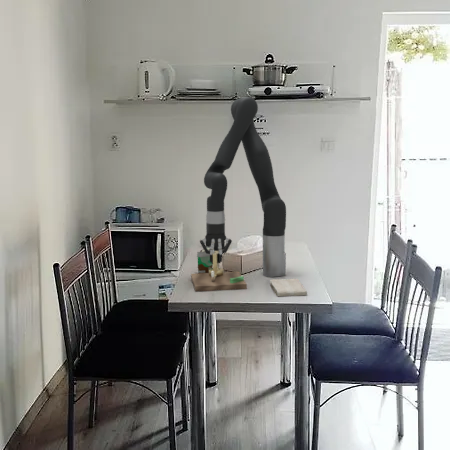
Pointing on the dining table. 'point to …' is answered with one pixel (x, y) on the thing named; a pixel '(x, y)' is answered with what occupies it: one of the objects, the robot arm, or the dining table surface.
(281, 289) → the washcloth
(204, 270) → the food container
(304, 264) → the dining table surface
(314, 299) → the dining table surface
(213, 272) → the tan bar with dome
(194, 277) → the dial board
